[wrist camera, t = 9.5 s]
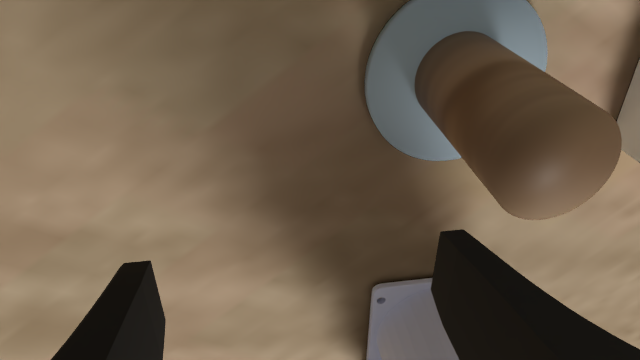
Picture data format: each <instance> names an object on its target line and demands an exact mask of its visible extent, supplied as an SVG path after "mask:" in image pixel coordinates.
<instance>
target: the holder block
mask: <svg viewBox="0 0 640 360" xmlns="http://www.w3.org/2000/svg"><path fill="white" fill-rule="evenodd" d="M617 124H618V126H619V128H620V132H621V138H622V146H621V150H622V151H624V152H625V153H626V154H628V155H629V156H631V157H632V158H634V159H635V160H636V161H638V162H639V163H640V59H639V62H638V65H637V67H636V70H635V73H634V76H633V78H632V81H631V84H630V87H629V89H628V92H627V95H626V97H625V100H624V103H623V106H622V108H621V111H620V114H619V117H618V119H617Z"/></svg>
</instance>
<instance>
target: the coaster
mask: <svg viewBox="0 0 640 360" xmlns="http://www.w3.org/2000/svg"><path fill="white" fill-rule="evenodd" d="M463 31H475V32H480V33H483V34H485V35H487V36H489V37H491V38H492V39H494V40H495V41H497V42H498V43H500V44H501V45H503V46H505V47H506V48H508V49H509V50H511V51H512V52H514V53H516V54H517V55H519V56H520V57H522V58H523V59H525V60H527V61H528V62H530V63H531V64H533V65H534V66H536V67H537V68H539V69H541V70H542V71H544V72H545V70H546V65H547V40H546V35H545V31H544V28H543V25H542V22H541V20H540V18H539V16H538V15H537V13H536V11H535V10H534V9H533V7H532V6H531V5H530V4H529V3H528V1H526V0H410V1H408V2H407V3H406V4H405V5H404V6H402V7H401V8H400V9H399V10H398V11H397V12H396V13H395V14H394V15H393V16H392V18H391V19H390V20H389V21H388V22H387V23H386V25H385V26H384V28H383V29H382V31H381V32H380V34H379V35H378V37H377V39H376V41H375V43H374V45H373V47H372V50H371V53H370V55H369V58H368V62H367V66H366V72H365V80H364V84H365V98H366V103H367V107H368V110H369V113H370V115H371V117H372V119H373V121H374V123H375V125H376V127H377V128H378V130H379V131H380V133H381V134H382V136H383V137H384V138H385V139H386V140H387V141H388V142H389V143H390V144H391V145H392V146H394V147H395V148H396V149H398V150H399V151H401V152H403V153H405V154H407V155H410V156H412V157H415V158H419V159H423V160H430V161H447V160H454V159H459V158H462V157H461V156H460V154H459V153H458V152H457V151H456V150H455V148H454V147H453V146H452V145H451V143H450V142H449V141H448V140H447V138H446V137H445V136H444V135H443V133H442V132H441V131H440V130H439V128H438V127H437V126H436V125H435V123H434V122H433V121H432V120H431V118H430V117H429V116H428V115H427V113H426V112H425V111H424V110H423V108H422V107H421V106H420V104H419V102H418V100H417V98H416V94H415V86H414V85H415V76H416V72H417V69H418V67H419V64H420V62H421V61H422V59H423V57H424V56H425V54H426V53H427V52H428V51H429V50H430V49H431V48H432V47H433V46H434V45H435V44H436V43H437V42H439V41H440V40H442V39H443V38H445V37H447V36H449V35H452V34H454V33H458V32H463Z"/></svg>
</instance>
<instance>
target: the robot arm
mask: <svg viewBox="0 0 640 360" xmlns="http://www.w3.org/2000/svg"><path fill="white" fill-rule="evenodd" d="M381 297H382V298H381ZM379 298H381V299H379ZM164 335H165V316H164V312H163V308H162V304H161V300H160V296H159V292H158V288H157V284H156V280H155V276H154V272H153V268H152V264H151V261H141V262H131V263H124V264H123V265H122V266H121V267H120V268H119V270H118V271H117V273H116V274H115V275H114V277H113V278H112V280H111V281H110V283H109V284H108V286H107V287H106V288H105V290H104V291H103V293H102V294H101V296H100V297H99V298H98V300H97V301H96V303H95V304H94V305H93V307H92V308H91V309H90V311H89V312H88V313H87V315H86V316H85V317H84V319H83V320H82V321H81V323H80V324H79V325H78V327H77V328H76V329H75V331H74V332H73V333H72V335H71V336H70V337H69V338H68V340H67V341H66V342H65V343H64V345H63V346H62V347H61V348H60V349H59V351H58V352H57V353H56V354H55V355H54V357H53V358H52V359H51V360H163V349H164ZM366 360H640V349H638V348H636V347H634V346H632V345H630V344H628V343H626V342H625V341H623V340H621V339H619V338H617V337H616V336H614V335H612V334H610V333H609V332H607V331H605V330H604V329H602V328H600V327H598V326H597V325H595V324H593V323H592V322H590V321H588V320H587V319H585V318H583V317H582V316H580V315H579V314H577V313H575V312H574V311H572V310H571V309H569V308H568V307H566V306H565V305H563V304H562V303H560V302H559V301H557V300H556V299H554V298H553V297H552V296H550V295H549V294H547V293H546V292H544V291H543V290H542V289H540V288H539V287H537V286H536V285H535V284H533V283H532V282H530V281H529V280H528V279H526V278H525V277H524V276H522V275H521V274H520V273H518V272H517V271H516V270H515V269H513V268H512V267H511V266H509V265H508V264H507V263H505V262H504V261H503V260H502V259H500V258H499V257H498V256H497V255H495V254H494V253H493V252H492V251H490V250H489V249H488V248H486V247H485V246H484V245H483V244H481V243H480V242H479V241H478V240H476V239H475V238H474V237H473V236H471V235H470V234H469V233H467V232H466V231H465V230H453V231H443V232H440V238H439V243H438V249H437V255H436V261H435V267H434V273H433V278H426V279H417V280H408V281H399V282H390V283H381V284H377V285H376V286H374V287H373V289H372V294H371V307H370V319H369V332H368V344H367V357H366Z"/></svg>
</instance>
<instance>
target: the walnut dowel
mask: <svg viewBox="0 0 640 360" xmlns="http://www.w3.org/2000/svg"><path fill="white" fill-rule="evenodd" d="M414 86H415V94H416V98H417V100H418V102H419V104H420V106H421V107H422V108H423V110H424V111H425V112H426V113H427V115H428V116H429V117H430V118H431V120H432V121H433V122H434V123H435V125H436V126H437V127H438V128H439V130H440V131H441V132H442V133H443V135H444V136H445V137H446V138H447V140H448V141H449V142H450V143H451V145H452V146H453V147H454V148H455V150H456V151H457V152H458V153H459V154H460V156H461V157H462V158H463V159H464V161H465V162H466V163H467V164H468V166H469V167H470V168H471V169H472V171H473V172H474V173H475V174H476V176H477V177H478V178H479V179H480V181H481V182H482V183H483V184H484V186H485V187H486V188H487V189H488V191H489V192H490V193H491V194H492V196H493V197H494V198H495V199H496V201H497V202H498V203H499V204H500V206H501V207H502V208H503V209H504V210H505V211H506V212H508V213H509V214H511V215H513V216H515V217H518V218H522V219H527V220H542V219H548V218H553V217H556V216H559V215H562V214H565V213H567V212H569V211H571V210H573V209H575V208H577V207H578V206H580V205H581V204H583V203H584V202H586V201H587V200H588V199H590V198H591V197H592V196H593V195H594V194H595V193H596V192H598V191H599V190H600V188H601V187H602V186H603V185H604V184H605V183H606V181H607V180H608V179H609V177H610V176H611V174H612V172H613V171H614V169H615V167H616V165H617V162H618V159H619V156H620V152H621V146H622V138H621V132H620V128H619V126H618V124H617V122H616V120H615V119H614V118H613V117H612V116H611V115H610V114H609V113H608V112H606V111H605V110H603V109H602V108H600V107H599V106H597V105H595V104H594V103H592V102H591V101H589V100H588V99H586V98H584V97H583V96H581V95H580V94H578V93H577V92H575V91H573V90H572V89H570V88H569V87H567V86H566V85H564V84H563V83H561V82H559V81H558V80H556V79H555V78H553V77H552V76H550V75H548V74H547V73H545V72H544V71H542V70H541V69H539V68H537V67H536V66H534V65H533V64H531V63H530V62H528V61H527V60H525V59H523V58H522V57H520V56H519V55H517V54H516V53H514V52H512V51H511V50H509V49H508V48H506V47H505V46H503V45H501V44H500V43H498V42H497V41H495V40H494V39H492V38H491V37H489V36H487V35H485V34H483V33H480V32H475V31H463V32H458V33H454V34H452V35H449V36H447V37H445V38H443V39H442V40H440V41H439V42H437V43H436V44H435V45H434V46H433V47H432V48H431V49H430V50H429V51H428V52H427V53H426V54H425V56H424V57H423V59H422V61H421V62H420V64H419V67H418V69H417V72H416V76H415V85H414Z"/></svg>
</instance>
